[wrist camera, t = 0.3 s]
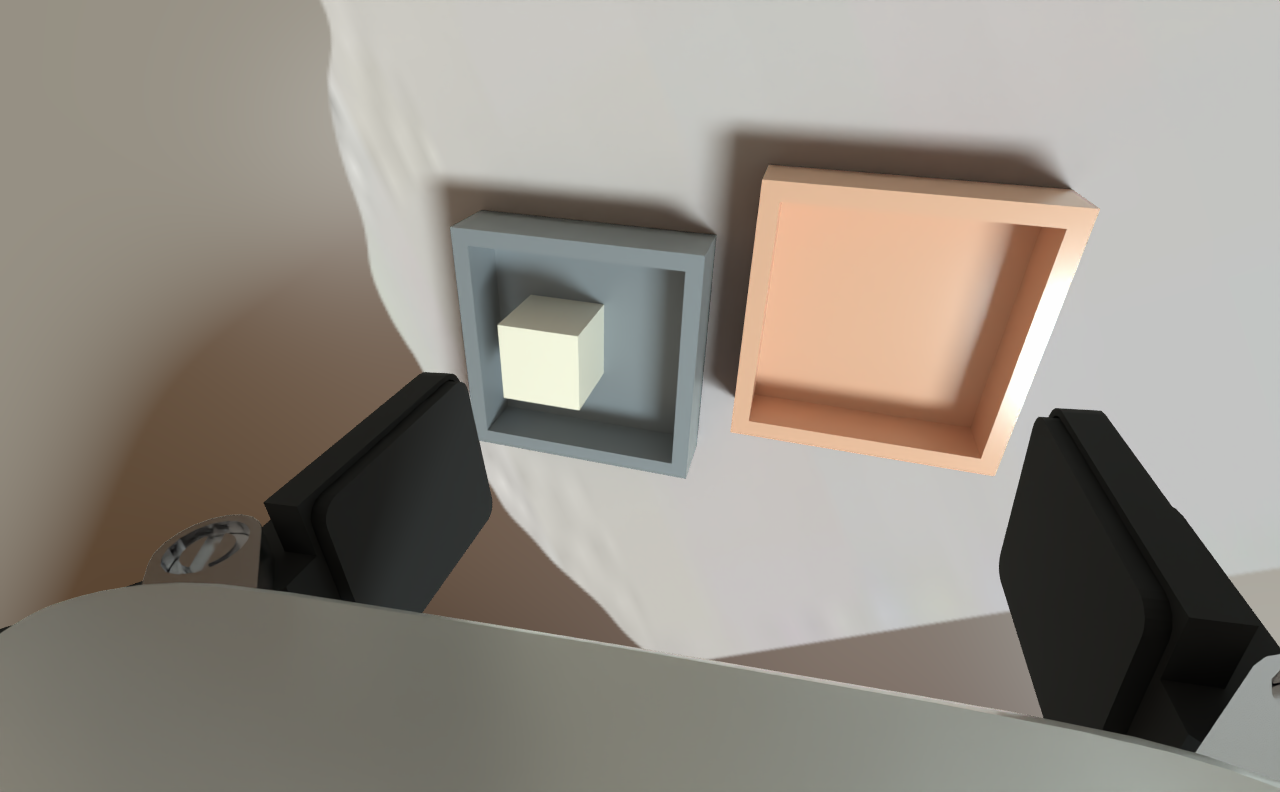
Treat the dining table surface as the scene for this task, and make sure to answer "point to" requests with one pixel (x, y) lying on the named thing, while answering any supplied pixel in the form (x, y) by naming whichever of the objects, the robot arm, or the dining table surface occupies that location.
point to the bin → (633, 333)
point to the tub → (902, 311)
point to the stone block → (552, 351)
